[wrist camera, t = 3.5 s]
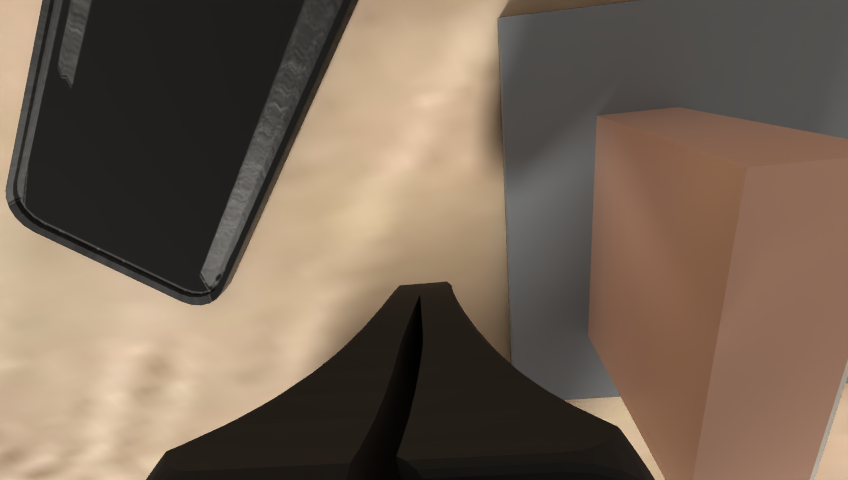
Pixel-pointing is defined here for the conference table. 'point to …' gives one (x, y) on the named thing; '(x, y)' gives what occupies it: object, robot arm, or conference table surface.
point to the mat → (629, 92)
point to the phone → (165, 128)
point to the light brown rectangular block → (721, 288)
